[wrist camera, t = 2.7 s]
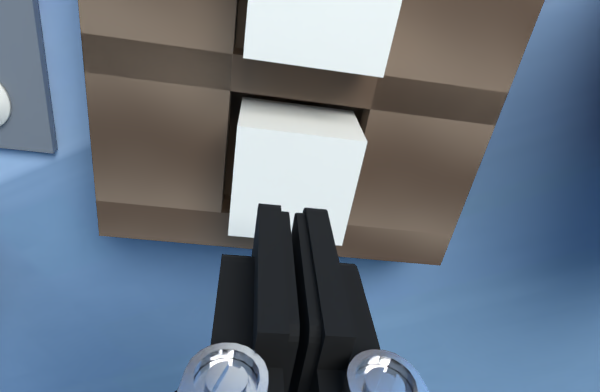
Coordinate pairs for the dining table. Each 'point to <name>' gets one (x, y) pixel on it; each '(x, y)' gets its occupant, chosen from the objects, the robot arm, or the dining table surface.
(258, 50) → the button middle
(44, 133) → the pattern card
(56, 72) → the dining table surface
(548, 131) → the dining table surface
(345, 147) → the button
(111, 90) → the button board
